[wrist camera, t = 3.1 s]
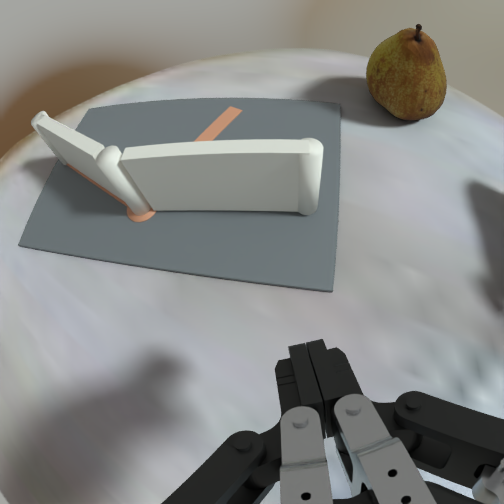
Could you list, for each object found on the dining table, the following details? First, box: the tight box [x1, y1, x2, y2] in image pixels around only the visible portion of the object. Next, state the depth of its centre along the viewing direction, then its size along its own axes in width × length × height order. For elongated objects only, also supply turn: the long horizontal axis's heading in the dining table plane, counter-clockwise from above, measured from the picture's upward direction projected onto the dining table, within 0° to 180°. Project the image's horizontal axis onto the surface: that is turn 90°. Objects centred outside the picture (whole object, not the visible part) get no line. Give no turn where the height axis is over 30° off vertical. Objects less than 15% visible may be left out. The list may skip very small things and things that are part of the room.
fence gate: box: [121, 138, 323, 215], centre depth 24 cm, size 14×2×7 cm, turn 85°
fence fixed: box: [31, 111, 152, 216], centre depth 27 cm, size 16×2×8 cm, turn 55°
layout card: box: [18, 98, 340, 292], centre depth 30 cm, size 32×20×1 cm, turn 80°
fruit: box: [366, 24, 447, 120], centre depth 26 cm, size 9×9×12 cm
